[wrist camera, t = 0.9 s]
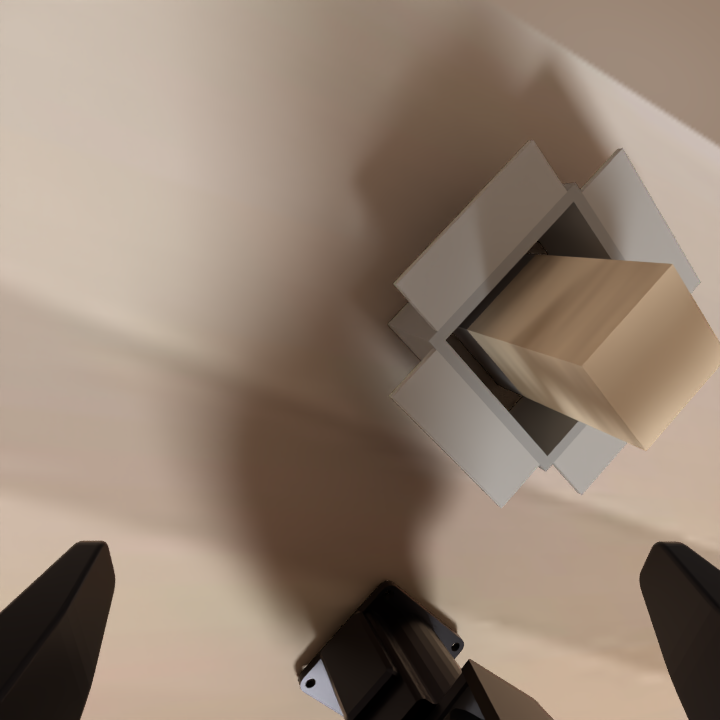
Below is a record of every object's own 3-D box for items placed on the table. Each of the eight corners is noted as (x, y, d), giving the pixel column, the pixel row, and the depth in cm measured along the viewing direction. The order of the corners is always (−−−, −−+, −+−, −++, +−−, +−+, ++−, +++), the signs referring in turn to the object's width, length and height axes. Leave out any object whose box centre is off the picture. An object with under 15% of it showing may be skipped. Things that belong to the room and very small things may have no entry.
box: (558, 318, 28) (728, 356, 20) (498, 385, 28) (646, 451, 20) (508, 252, 27) (672, 263, 18) (444, 322, 26) (581, 366, 18)
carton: (657, 315, 30) (727, 327, 27) (489, 505, 29) (538, 545, 26) (521, 105, 25) (585, 84, 21) (309, 327, 24) (339, 345, 20)
